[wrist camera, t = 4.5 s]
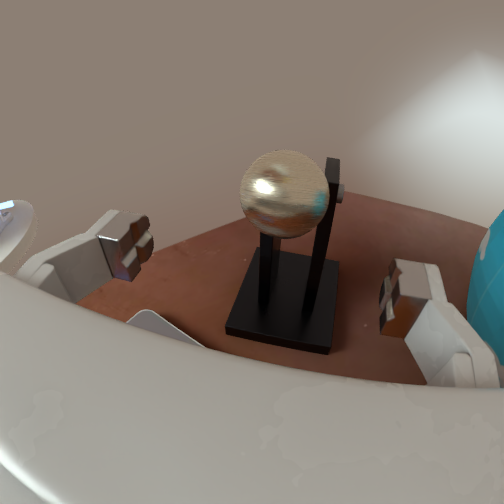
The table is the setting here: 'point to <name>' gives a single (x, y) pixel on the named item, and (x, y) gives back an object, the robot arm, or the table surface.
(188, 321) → the table surface
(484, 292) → the decorative ball
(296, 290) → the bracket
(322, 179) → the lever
